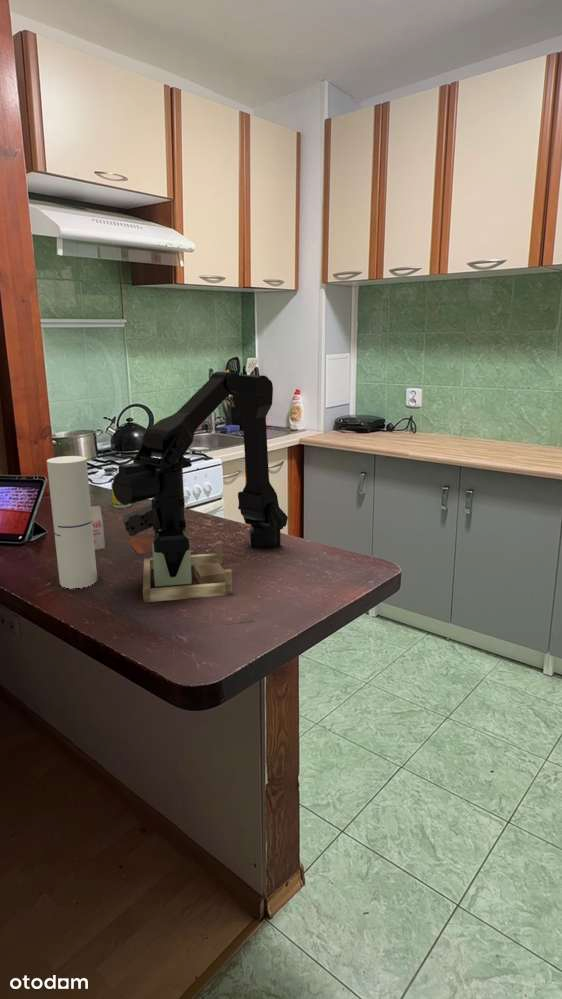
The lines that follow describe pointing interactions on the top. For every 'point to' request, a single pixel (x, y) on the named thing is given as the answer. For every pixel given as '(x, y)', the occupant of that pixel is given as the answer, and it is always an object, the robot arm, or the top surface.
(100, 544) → the white box
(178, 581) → the sage green prism
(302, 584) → the top surface
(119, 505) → the supplement bottle
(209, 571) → the tan flat block
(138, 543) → the wooden tablet
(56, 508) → the cylindrical container
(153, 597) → the rack
